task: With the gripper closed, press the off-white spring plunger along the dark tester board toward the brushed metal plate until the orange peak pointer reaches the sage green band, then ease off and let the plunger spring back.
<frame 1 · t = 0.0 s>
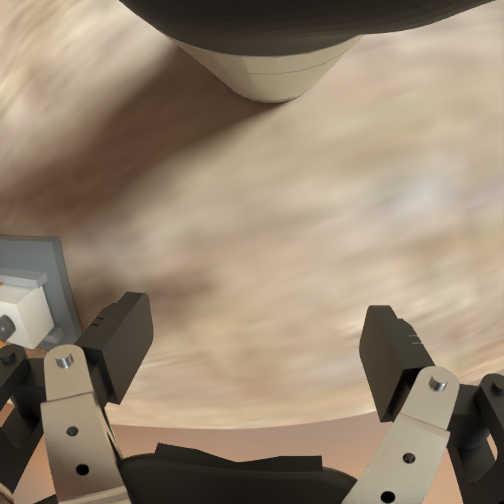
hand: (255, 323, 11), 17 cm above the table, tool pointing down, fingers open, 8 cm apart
tester base: (11, 290, 33), on the table
peak pointer: (0, 309, 29), point 5 cm above the table, slide at 0.0 cm
spring plunger: (15, 316, 28), point 5 cm above the table, slide at 0.0 cm
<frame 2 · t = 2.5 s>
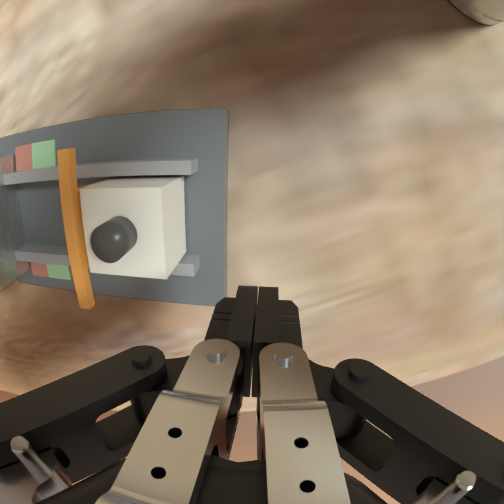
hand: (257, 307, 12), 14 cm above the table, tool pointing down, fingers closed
tester base: (96, 208, 26), on the table
peak pointer: (90, 223, 21), point 5 cm above the table, slide at 0.0 cm
spring plunger: (130, 226, 20), point 5 cm above the table, slide at 0.0 cm
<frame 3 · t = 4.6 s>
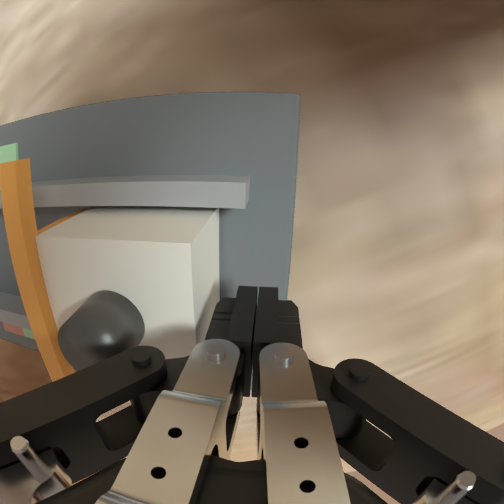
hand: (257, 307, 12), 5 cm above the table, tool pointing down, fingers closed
tester base: (82, 246, 17), on the table
peak pointer: (68, 284, 12), point 5 cm above the table, slide at 0.0 cm
spring plunger: (130, 300, 12), point 5 cm above the table, slide at 0.3 cm, touching gripper
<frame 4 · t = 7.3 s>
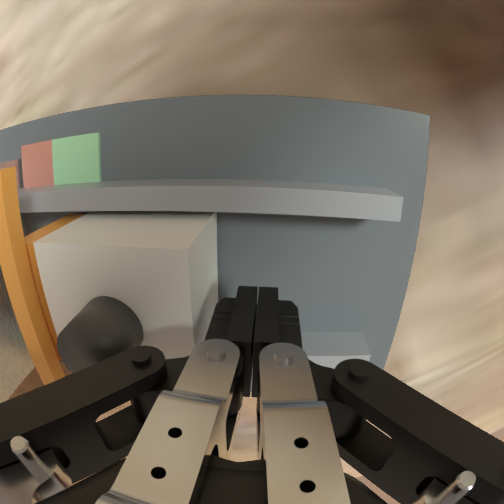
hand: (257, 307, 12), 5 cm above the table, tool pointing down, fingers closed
tester base: (177, 256, 16), on the table
peak pointer: (56, 288, 12), point 5 cm above the table, slide at 6.9 cm
spring plunger: (128, 305, 11), point 5 cm above the table, slide at 6.5 cm, touching gripper
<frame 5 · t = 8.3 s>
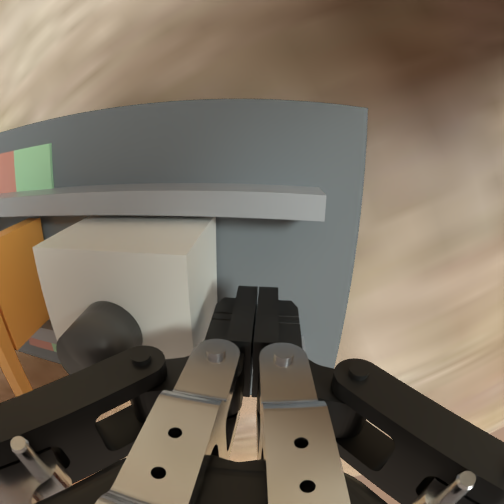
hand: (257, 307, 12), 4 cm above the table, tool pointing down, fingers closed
tester base: (124, 257, 17), on the table
peak pointer: (14, 285, 12), point 5 cm above the table, slide at 6.9 cm
spring plunger: (127, 309, 11), point 5 cm above the table, slide at 3.4 cm, touching gripper
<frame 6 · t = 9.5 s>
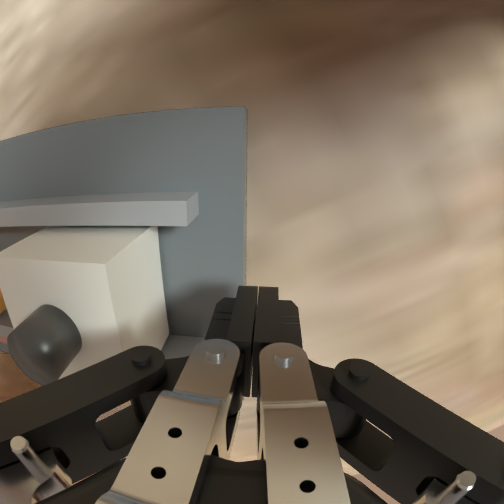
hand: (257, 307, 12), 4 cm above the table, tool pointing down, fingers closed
tester base: (56, 261, 17), on the table
spring plunger: (75, 312, 12), point 5 cm above the table, slide at 0.9 cm
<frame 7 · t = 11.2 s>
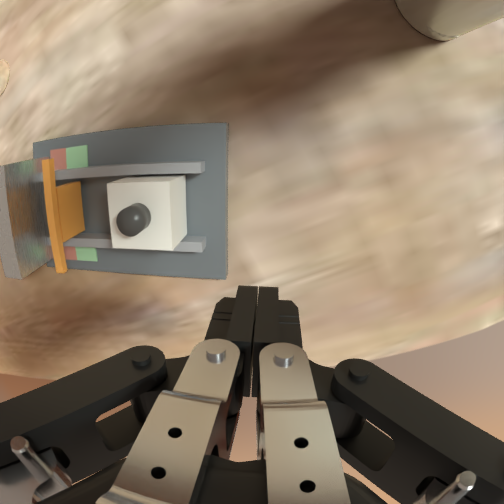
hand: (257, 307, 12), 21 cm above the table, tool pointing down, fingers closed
brushed metal plate: (25, 214, 28), point 6 cm above the table
tester base: (121, 201, 33), on the table
peak pointer: (65, 211, 28), point 5 cm above the table, slide at 6.9 cm
spring plunger: (144, 212, 27), point 5 cm above the table, slide at 0.9 cm
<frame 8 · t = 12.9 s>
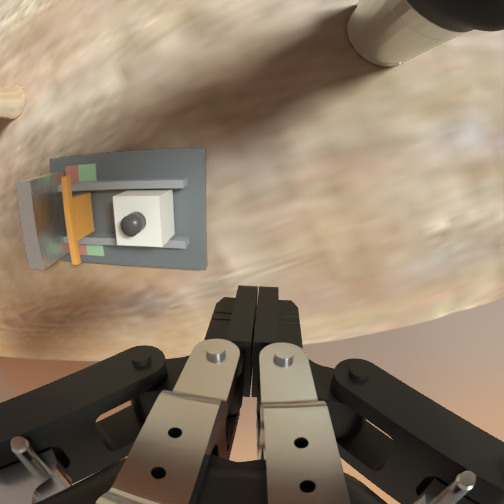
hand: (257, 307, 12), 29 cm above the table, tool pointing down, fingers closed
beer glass: (15, 102, 36), on the table
brushed metal plate: (45, 218, 37), point 6 cm above the table
tester base: (123, 208, 41), on the table
peak pointer: (79, 216, 37), point 5 cm above the table, slide at 6.9 cm
spring plunger: (141, 218, 36), point 5 cm above the table, slide at 0.9 cm
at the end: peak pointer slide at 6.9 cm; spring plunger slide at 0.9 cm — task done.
